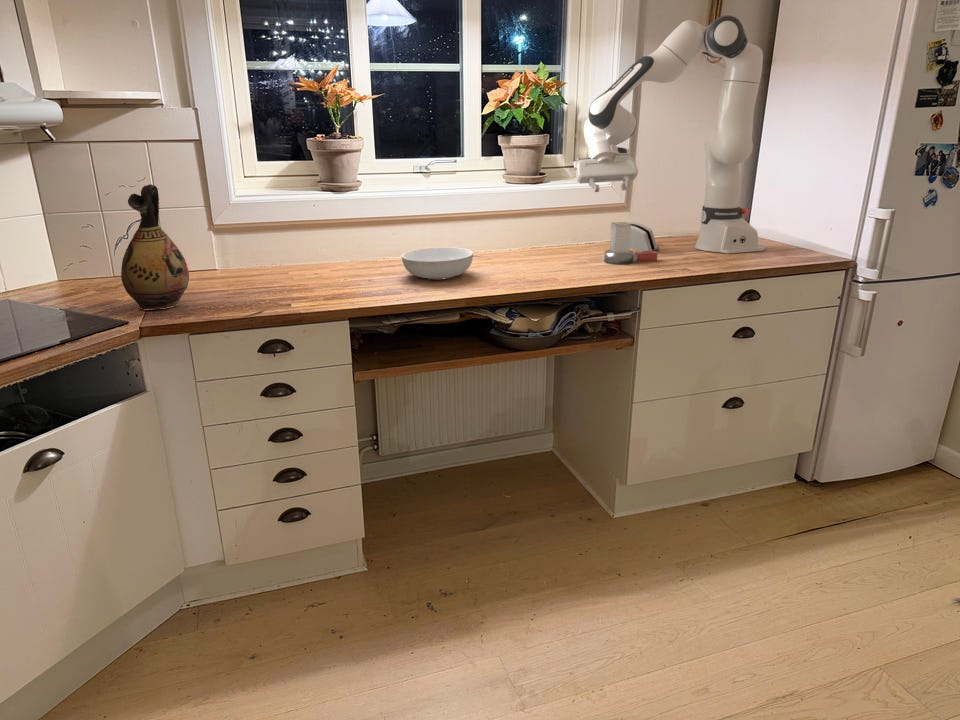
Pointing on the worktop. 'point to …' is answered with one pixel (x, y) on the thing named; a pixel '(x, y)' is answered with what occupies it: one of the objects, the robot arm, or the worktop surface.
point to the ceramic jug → (152, 258)
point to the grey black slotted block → (642, 238)
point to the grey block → (620, 237)
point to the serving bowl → (437, 262)
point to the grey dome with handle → (629, 257)
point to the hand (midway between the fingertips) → (610, 190)
